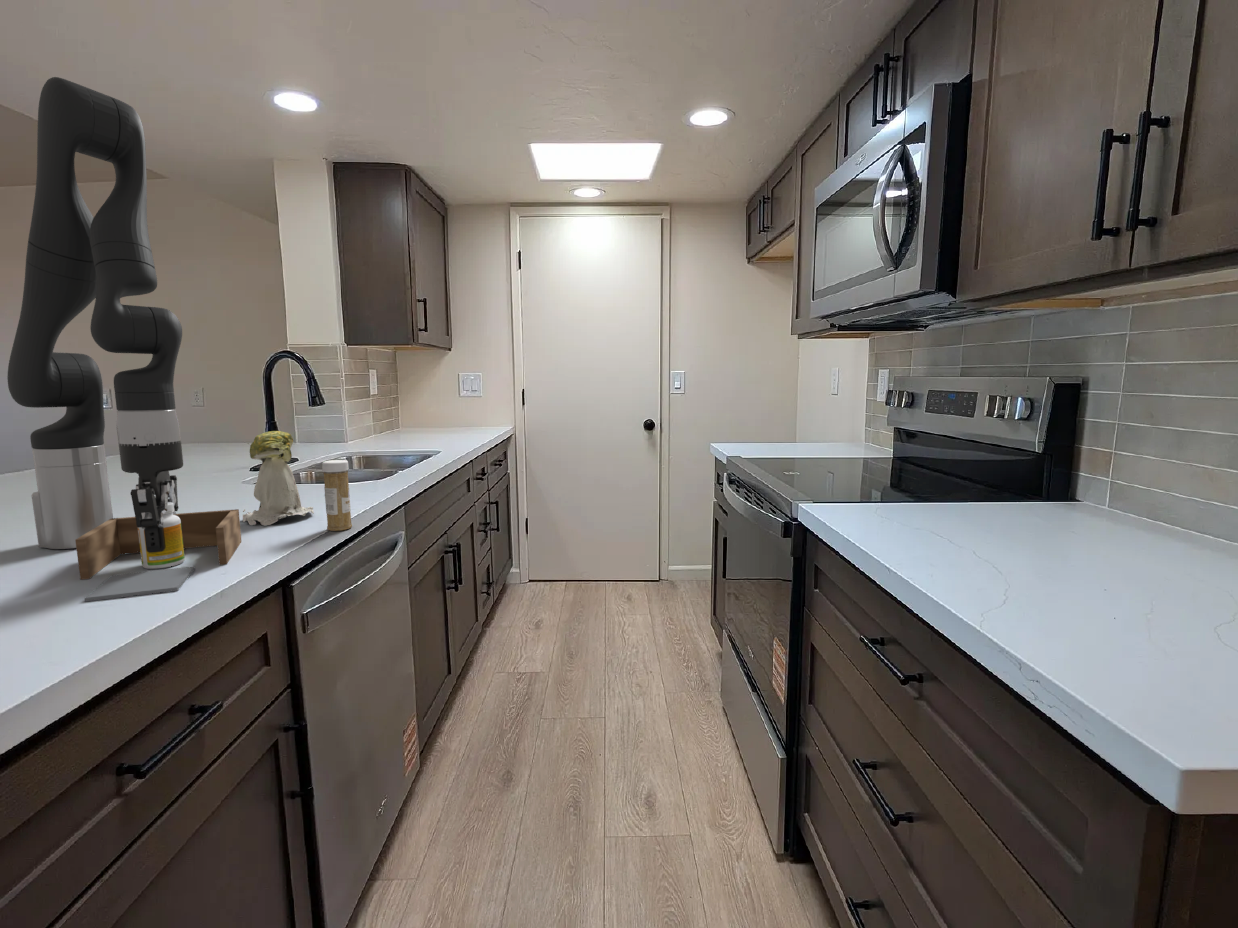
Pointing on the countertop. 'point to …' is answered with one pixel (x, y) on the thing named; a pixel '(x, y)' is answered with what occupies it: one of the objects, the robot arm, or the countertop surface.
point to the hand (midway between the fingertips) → (162, 545)
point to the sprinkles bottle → (337, 495)
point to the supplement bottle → (172, 542)
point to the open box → (124, 538)
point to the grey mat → (141, 583)
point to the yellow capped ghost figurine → (274, 479)
